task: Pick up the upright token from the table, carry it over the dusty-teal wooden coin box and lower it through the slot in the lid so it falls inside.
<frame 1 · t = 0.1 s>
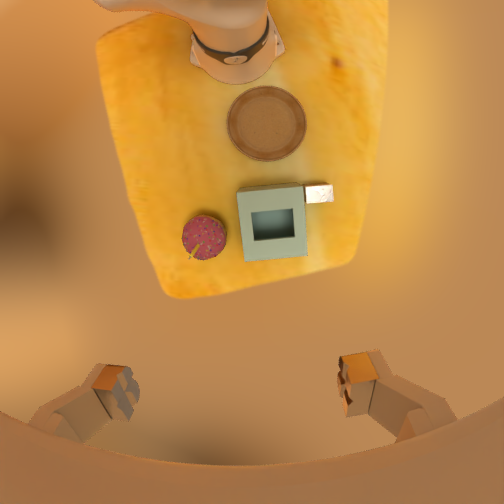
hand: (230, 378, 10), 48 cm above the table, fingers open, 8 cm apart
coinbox: (271, 215, 56), on the table
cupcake: (208, 231, 58), on the table
token: (314, 191, 55), on the table
plant saucer: (266, 124, 51), on the table
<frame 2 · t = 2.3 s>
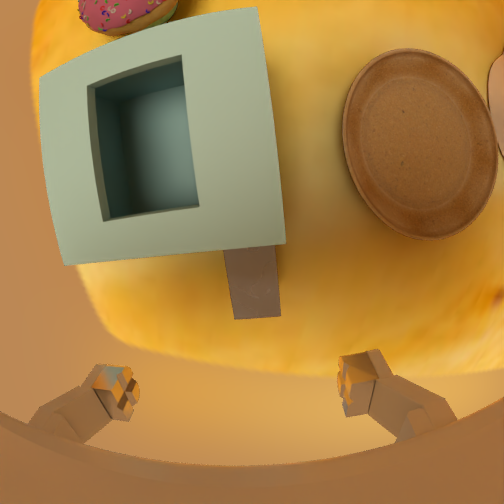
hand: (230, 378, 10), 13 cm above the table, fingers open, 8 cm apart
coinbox: (187, 144, 19), on the table
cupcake: (153, 9, 16), on the table
token: (256, 255, 22), on the table
plant saucer: (418, 143, 19), on the table
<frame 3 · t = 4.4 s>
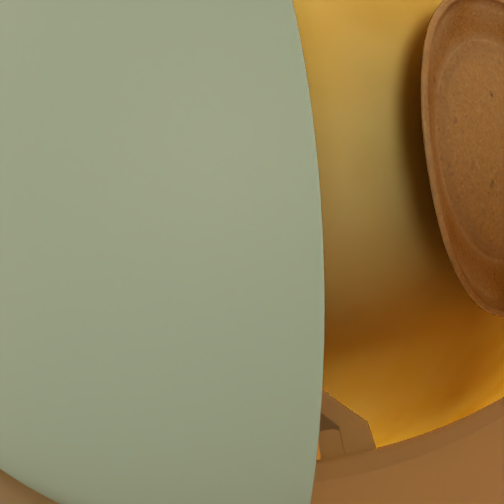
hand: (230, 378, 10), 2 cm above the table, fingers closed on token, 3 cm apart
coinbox: (96, 146, 9), on the table
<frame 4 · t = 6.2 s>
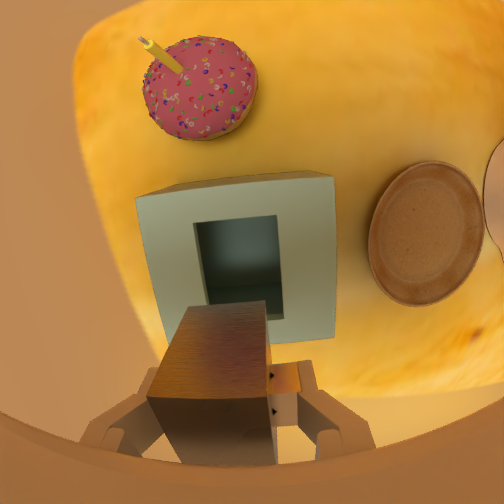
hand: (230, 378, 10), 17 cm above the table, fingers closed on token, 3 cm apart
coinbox: (247, 236, 26), on the table
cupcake: (209, 98, 22), on the table
token: (235, 355, 11), point 16 cm above the table, touching gripper
plant saucer: (421, 231, 26), on the table
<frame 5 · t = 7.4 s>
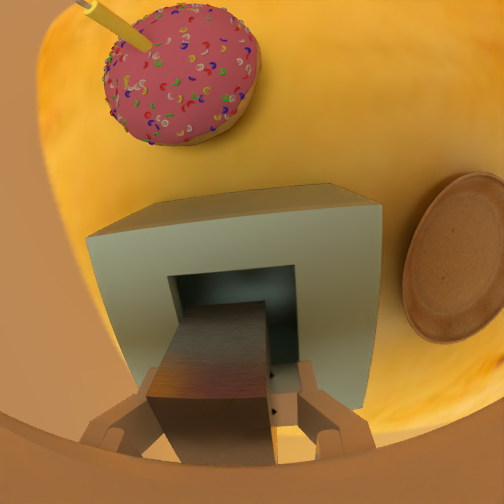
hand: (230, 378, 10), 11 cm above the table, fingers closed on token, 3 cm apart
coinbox: (249, 269, 20), on the table
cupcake: (197, 88, 17), on the table
token: (234, 355, 11), point 9 cm above the table, touching gripper
plant saucer: (458, 255, 20), on the table
when the fingers open (10 cm above the table, at t = 8.3 s): token drops 7 cm, resting on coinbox.
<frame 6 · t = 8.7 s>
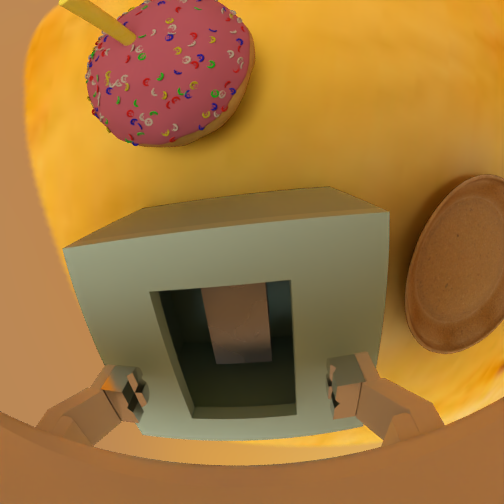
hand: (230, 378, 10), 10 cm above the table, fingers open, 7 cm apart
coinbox: (243, 278, 19), on the table
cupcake: (187, 86, 15), on the table
token: (243, 282, 18), point 1 cm above the table, touching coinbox
plant saucer: (462, 261, 19), on the table
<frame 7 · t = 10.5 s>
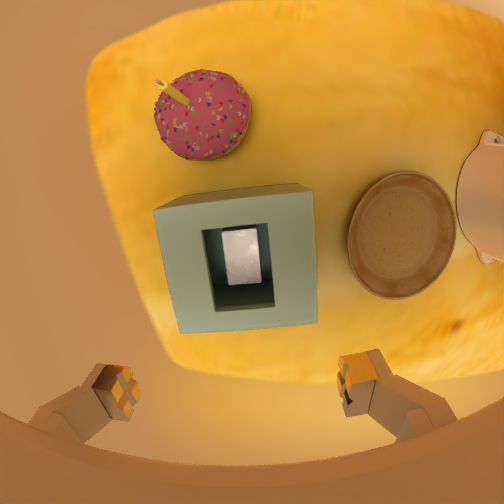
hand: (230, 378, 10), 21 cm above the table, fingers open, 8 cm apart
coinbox: (243, 240, 31), on the table
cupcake: (210, 120, 27), on the table
token: (244, 242, 30), point 1 cm above the table, touching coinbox
plant saucer: (397, 232, 31), on the table
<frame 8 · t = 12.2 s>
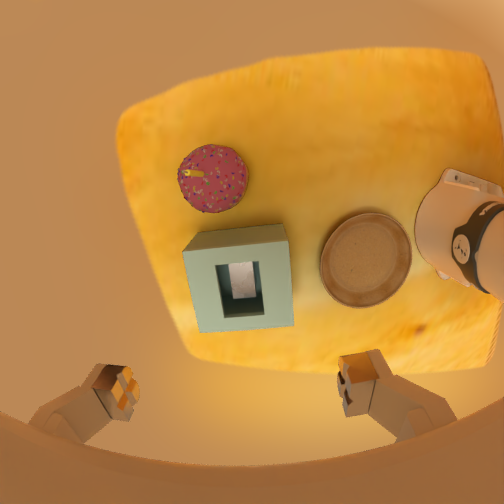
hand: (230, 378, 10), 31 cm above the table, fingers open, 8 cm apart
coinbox: (244, 264, 42), on the table
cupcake: (218, 176, 38), on the table
token: (244, 266, 41), point 1 cm above the table, touching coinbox
plant saucer: (363, 257, 41), on the table
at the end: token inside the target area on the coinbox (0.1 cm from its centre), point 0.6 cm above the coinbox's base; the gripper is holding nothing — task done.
